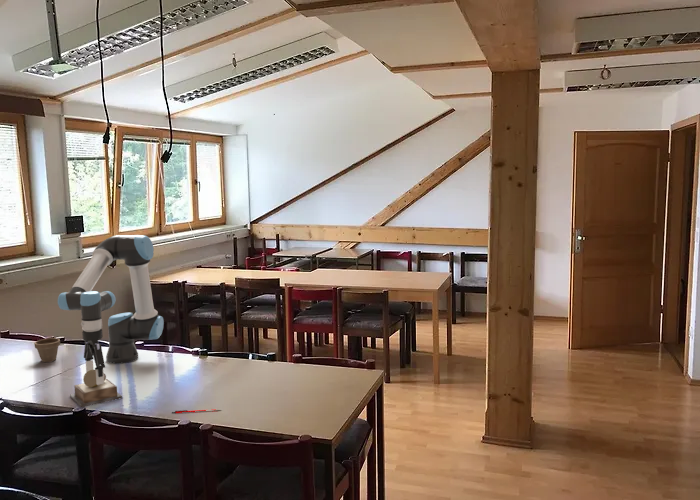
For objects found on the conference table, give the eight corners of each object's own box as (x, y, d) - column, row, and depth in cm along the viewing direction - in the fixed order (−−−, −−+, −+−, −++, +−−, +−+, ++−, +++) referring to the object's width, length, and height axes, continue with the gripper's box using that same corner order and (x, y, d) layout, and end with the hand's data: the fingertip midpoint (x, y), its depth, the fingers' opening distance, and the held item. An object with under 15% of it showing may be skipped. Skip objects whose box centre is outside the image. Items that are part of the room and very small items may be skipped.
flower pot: (36, 365, 291) (34, 345, 290) (35, 359, 301) (33, 340, 300) (62, 361, 297) (60, 341, 296) (60, 356, 307) (59, 337, 306)
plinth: (109, 388, 257) (109, 376, 256) (122, 398, 245) (121, 386, 244) (70, 396, 247) (69, 384, 246) (81, 407, 235) (80, 395, 234)
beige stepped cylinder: (111, 380, 252) (109, 364, 246) (97, 397, 244) (94, 381, 238) (96, 375, 253) (93, 359, 247) (81, 392, 245) (78, 375, 239)
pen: (172, 413, 229) (171, 410, 228) (222, 410, 231) (222, 408, 231) (171, 414, 228) (171, 411, 228) (222, 411, 230) (222, 409, 230)
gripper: (73, 325, 250) (76, 374, 252) (91, 336, 231) (94, 389, 233) (92, 322, 254) (95, 370, 257) (111, 333, 235) (114, 385, 238)
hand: (95, 379), depth 245 cm, fingers open, 13 cm apart
